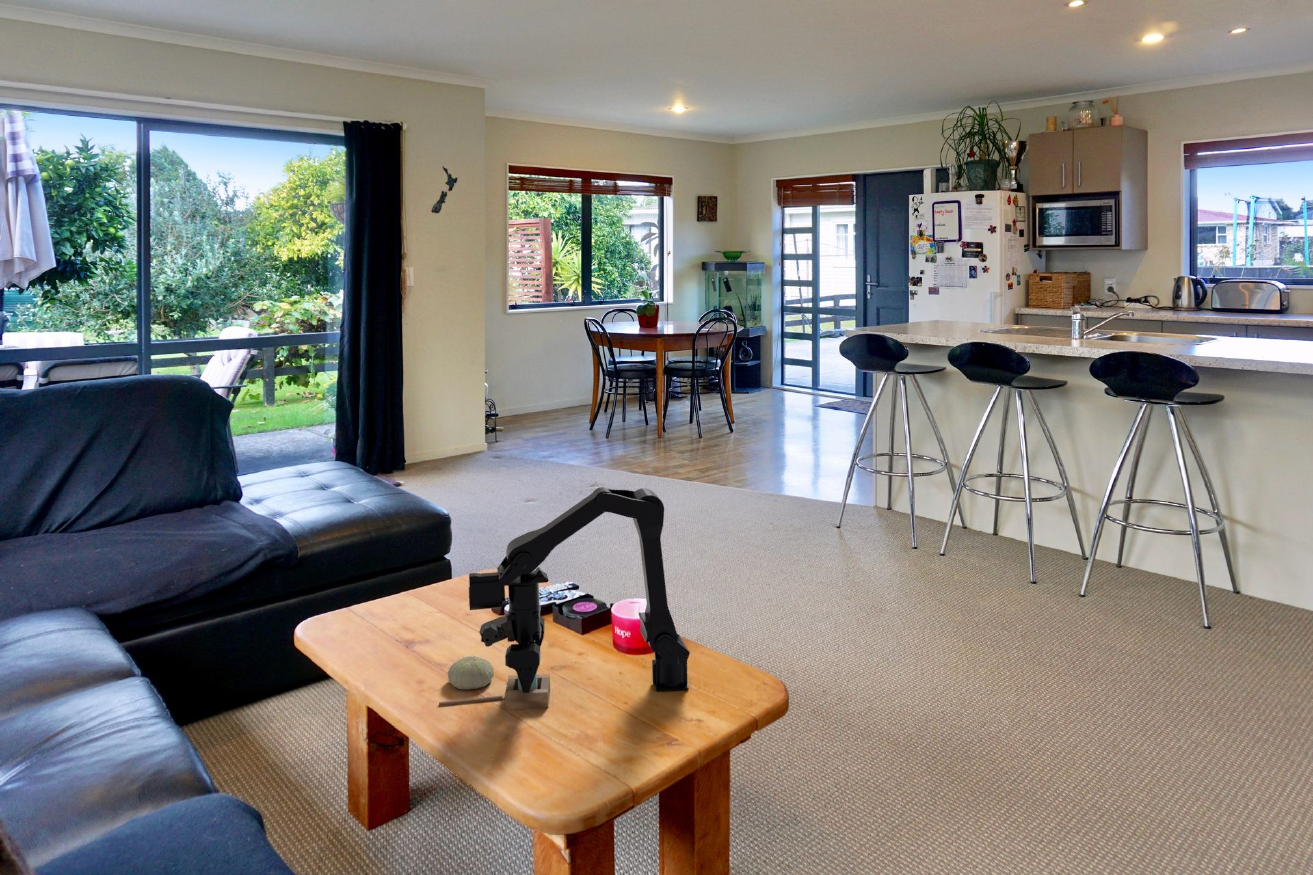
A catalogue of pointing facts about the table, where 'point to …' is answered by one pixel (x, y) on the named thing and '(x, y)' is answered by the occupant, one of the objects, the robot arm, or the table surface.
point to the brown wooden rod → (470, 700)
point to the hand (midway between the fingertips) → (527, 681)
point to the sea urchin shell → (470, 673)
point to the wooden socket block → (527, 694)
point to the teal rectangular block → (533, 686)
